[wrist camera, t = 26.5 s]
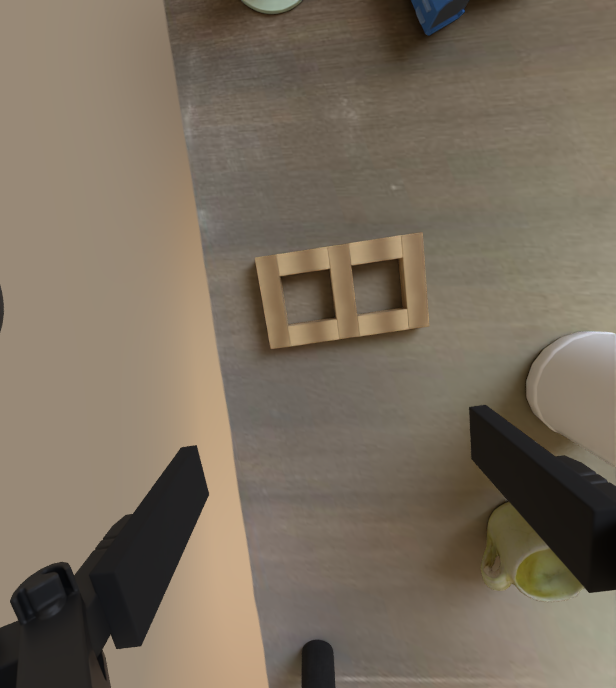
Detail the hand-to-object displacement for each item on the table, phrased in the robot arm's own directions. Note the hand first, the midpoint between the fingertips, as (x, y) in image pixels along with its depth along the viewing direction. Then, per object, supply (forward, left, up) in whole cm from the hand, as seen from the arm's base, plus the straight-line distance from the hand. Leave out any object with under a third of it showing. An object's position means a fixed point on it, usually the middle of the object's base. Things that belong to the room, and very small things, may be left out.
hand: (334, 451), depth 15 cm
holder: (+4, +6, -26) cm, 27 cm away
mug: (+23, -31, -26) cm, 47 cm away
